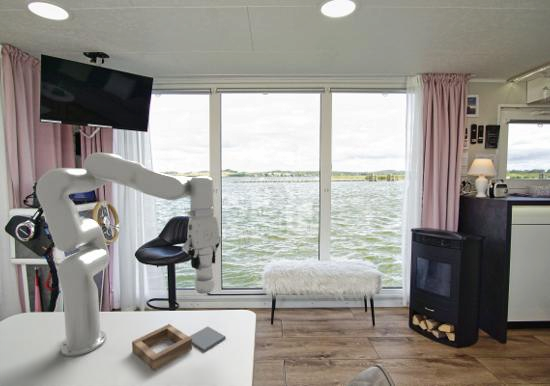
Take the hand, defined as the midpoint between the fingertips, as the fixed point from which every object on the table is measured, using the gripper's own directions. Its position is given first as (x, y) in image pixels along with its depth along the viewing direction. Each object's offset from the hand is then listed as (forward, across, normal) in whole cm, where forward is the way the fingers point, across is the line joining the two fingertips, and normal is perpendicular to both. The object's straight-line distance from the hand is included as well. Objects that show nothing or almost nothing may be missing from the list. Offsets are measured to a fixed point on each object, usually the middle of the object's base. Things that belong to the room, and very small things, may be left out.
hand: (203, 264), depth 92 cm
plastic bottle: (+10, 0, 0) cm, 10 cm away
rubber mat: (+27, 0, 0) cm, 27 cm away
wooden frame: (+27, -12, +6) cm, 30 cm away
